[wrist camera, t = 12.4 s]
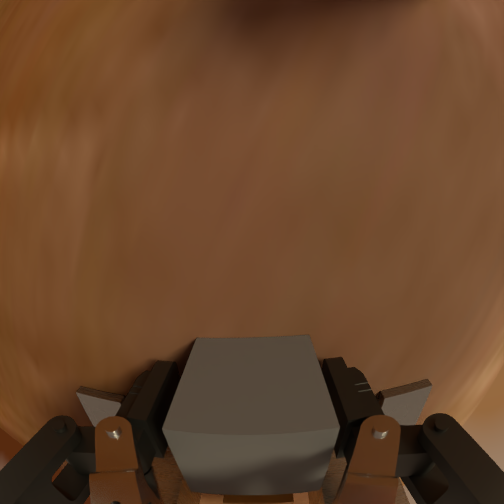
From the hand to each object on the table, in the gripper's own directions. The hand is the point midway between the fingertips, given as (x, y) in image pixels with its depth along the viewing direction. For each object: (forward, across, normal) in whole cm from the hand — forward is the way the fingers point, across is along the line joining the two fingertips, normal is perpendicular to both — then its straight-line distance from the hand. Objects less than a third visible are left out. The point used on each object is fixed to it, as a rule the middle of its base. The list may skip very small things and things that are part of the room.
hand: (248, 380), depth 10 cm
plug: (+1, 0, +4) cm, 4 cm away
